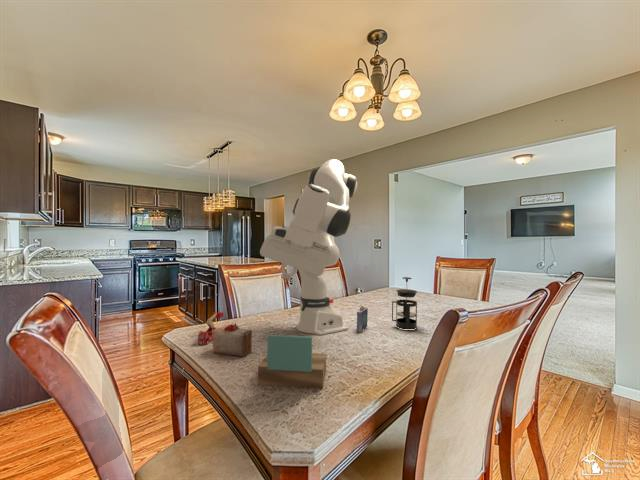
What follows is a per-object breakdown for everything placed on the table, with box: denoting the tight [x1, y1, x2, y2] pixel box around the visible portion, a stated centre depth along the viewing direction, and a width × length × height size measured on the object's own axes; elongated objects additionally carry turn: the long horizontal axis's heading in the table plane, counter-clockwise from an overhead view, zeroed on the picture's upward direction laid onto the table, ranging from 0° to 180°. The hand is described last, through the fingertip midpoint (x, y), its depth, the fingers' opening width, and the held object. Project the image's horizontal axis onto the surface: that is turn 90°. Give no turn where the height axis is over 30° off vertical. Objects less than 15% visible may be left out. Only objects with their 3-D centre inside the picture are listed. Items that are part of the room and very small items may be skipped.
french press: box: [391, 276, 418, 329], centre depth 134 cm, size 12×9×23 cm
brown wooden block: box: [257, 352, 327, 389], centre depth 86 cm, size 11×18×5 cm, turn 84°
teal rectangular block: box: [266, 334, 313, 372], centre depth 80 cm, size 1×12×9 cm, turn 84°
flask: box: [356, 304, 369, 333], centre depth 131 cm, size 9×3×11 cm, turn 151°
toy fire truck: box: [197, 311, 225, 345], centre depth 117 cm, size 3×14×10 cm, turn 168°
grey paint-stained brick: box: [212, 322, 253, 358], centre depth 104 cm, size 14×8×10 cm, turn 74°
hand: (285, 279), depth 91 cm, fingers closed
